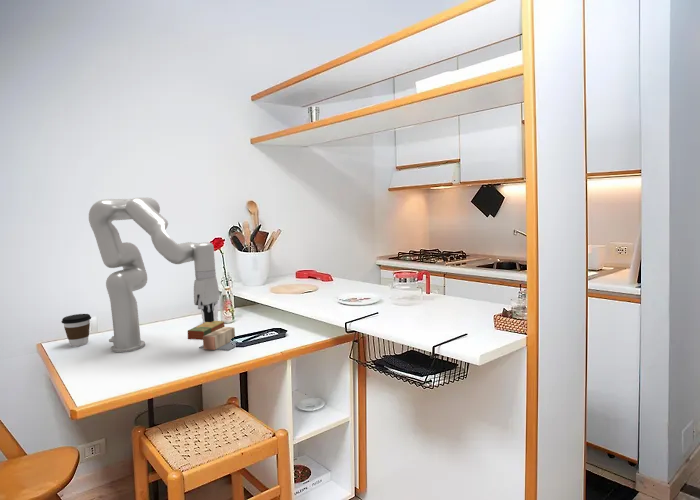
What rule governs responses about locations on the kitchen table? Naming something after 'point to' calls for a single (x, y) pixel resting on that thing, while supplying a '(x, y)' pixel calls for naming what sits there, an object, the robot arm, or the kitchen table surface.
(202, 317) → the white cup
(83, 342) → the coffee cup
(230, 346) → the rubber mat
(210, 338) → the wood block
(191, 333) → the carton
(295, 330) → the kitchen table surface
